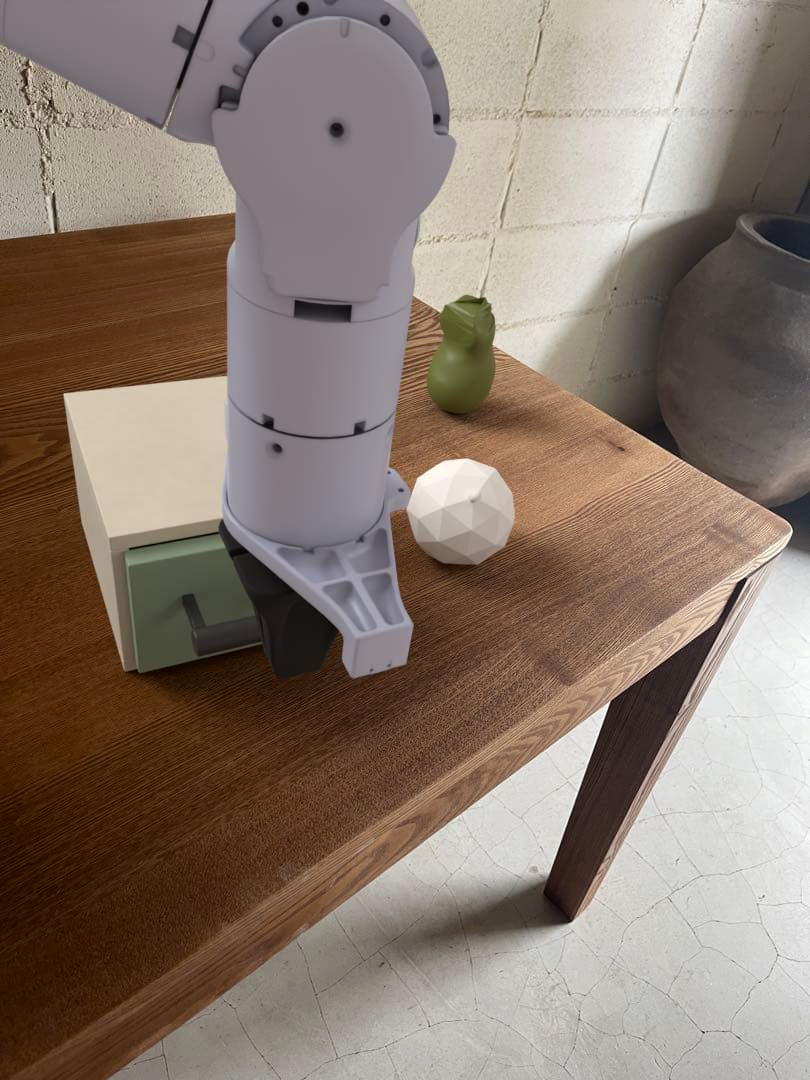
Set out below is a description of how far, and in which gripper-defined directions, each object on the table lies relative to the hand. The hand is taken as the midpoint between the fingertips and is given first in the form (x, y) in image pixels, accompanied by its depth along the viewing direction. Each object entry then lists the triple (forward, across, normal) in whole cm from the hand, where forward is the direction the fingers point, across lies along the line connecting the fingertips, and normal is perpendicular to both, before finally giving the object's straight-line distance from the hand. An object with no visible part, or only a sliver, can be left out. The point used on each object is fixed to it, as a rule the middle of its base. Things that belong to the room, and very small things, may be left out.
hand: (294, 663), depth 38 cm
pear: (+10, +31, -26) cm, 42 cm away
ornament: (+10, +14, -17) cm, 24 cm away
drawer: (+8, +13, 0) cm, 16 cm away
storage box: (+9, +17, 0) cm, 19 cm away
